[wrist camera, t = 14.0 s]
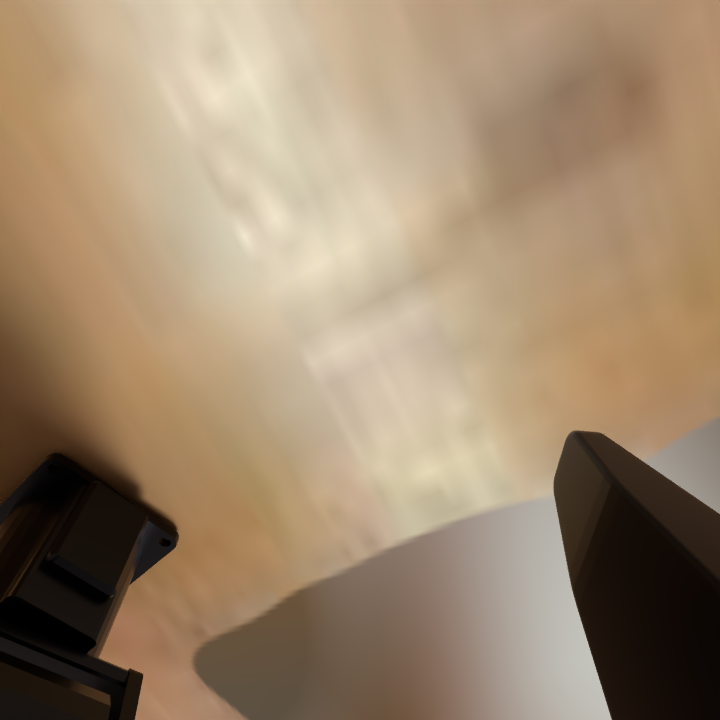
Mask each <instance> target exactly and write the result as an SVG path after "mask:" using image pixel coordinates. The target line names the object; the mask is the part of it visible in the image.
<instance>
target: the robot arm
mask: <svg viewBox="0 0 720 720" xmlns="http://www.w3.org/2000/svg"><path fill="white" fill-rule="evenodd" d="M53 464H54V465H57V466H58V467H59V468H57V467H55V466H54V465H53ZM554 496H555V501H556V507H557V512H558V518H559V523H560V529H561V534H562V540H563V545H564V550H565V555H566V561H567V566H568V572H569V577H570V581H571V586H572V590H573V594H574V598H575V601H576V605H577V608H578V612H579V615H580V618H581V621H582V624H583V628H584V631H585V634H586V637H587V641H588V644H589V647H590V650H591V654H592V657H593V660H594V663H595V666H596V670H597V673H598V676H599V679H600V683H601V685H602V689H603V692H604V695H605V698H606V702H607V705H608V709H609V712H610V715H611V718H612V720H720V514H719V513H717V512H716V511H714V510H713V509H711V508H710V507H709V506H707V505H706V504H704V503H703V502H701V501H700V500H698V499H697V498H695V497H694V496H693V495H691V494H690V493H688V492H687V491H685V490H684V489H682V488H681V487H679V486H678V485H676V484H675V483H674V482H672V481H671V480H669V479H667V478H666V477H664V476H663V475H662V474H660V473H659V472H658V471H656V470H655V469H653V468H652V467H650V466H649V465H647V464H646V463H644V462H643V461H642V460H640V459H639V458H637V457H636V456H634V455H633V454H631V453H630V452H628V451H627V450H625V449H624V448H623V447H621V446H620V445H618V444H617V443H615V442H614V441H612V440H611V439H609V438H608V437H607V436H605V435H604V434H602V433H599V432H589V431H572V432H571V433H569V435H568V436H567V438H566V441H565V444H564V447H563V451H562V454H561V457H560V460H559V464H558V467H557V470H556V473H555V477H554ZM164 538H166V539H169V540H166V539H164ZM178 539H179V535H178V533H177V532H176V531H175V530H174V529H173V528H171V527H170V526H168V525H167V524H165V523H164V522H162V521H161V520H159V519H158V518H156V517H155V516H153V515H152V514H150V513H149V512H147V511H146V510H144V509H143V508H141V507H140V506H138V505H137V504H135V503H134V502H132V501H131V500H130V499H128V498H127V497H125V496H124V495H122V494H121V493H119V492H118V491H116V490H115V489H113V488H112V487H110V486H109V485H107V484H106V483H104V482H103V481H101V480H100V479H98V478H97V477H95V476H94V475H92V474H91V473H89V472H88V471H86V470H85V469H83V468H82V467H81V466H79V465H78V464H76V463H75V462H73V461H72V460H70V459H69V458H67V457H66V456H64V455H62V454H57V453H54V454H50V455H49V456H47V457H46V458H45V459H44V460H43V461H42V462H41V463H40V464H39V466H38V467H37V468H36V469H35V470H34V471H33V472H32V473H31V474H30V475H29V476H28V477H27V478H26V479H25V480H24V481H23V482H22V483H21V484H20V485H19V486H18V487H17V488H16V489H15V490H14V491H13V492H12V493H11V494H10V495H9V496H8V497H7V498H6V499H5V500H4V501H3V502H2V503H1V504H0V720H135V715H136V710H137V705H138V700H139V695H140V690H141V685H142V680H143V674H142V673H140V672H137V671H135V670H132V669H129V670H125V669H123V668H121V667H118V666H116V665H113V664H111V663H109V662H106V661H104V660H102V659H99V656H100V654H101V651H102V649H103V647H104V644H105V642H106V639H107V637H108V635H109V632H110V630H111V627H112V625H113V623H114V620H115V618H116V616H117V613H118V611H119V608H120V606H121V604H122V601H123V599H124V596H125V594H126V592H127V589H128V587H129V585H130V584H131V583H133V582H134V581H135V580H136V579H137V578H139V577H140V576H141V575H142V574H144V573H145V572H146V571H147V570H148V569H150V568H151V567H152V566H153V565H155V564H156V563H157V562H158V561H160V560H161V559H162V558H163V557H164V556H166V555H167V554H168V553H169V552H171V551H172V550H173V549H174V548H175V547H176V545H177V542H178Z"/></svg>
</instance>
